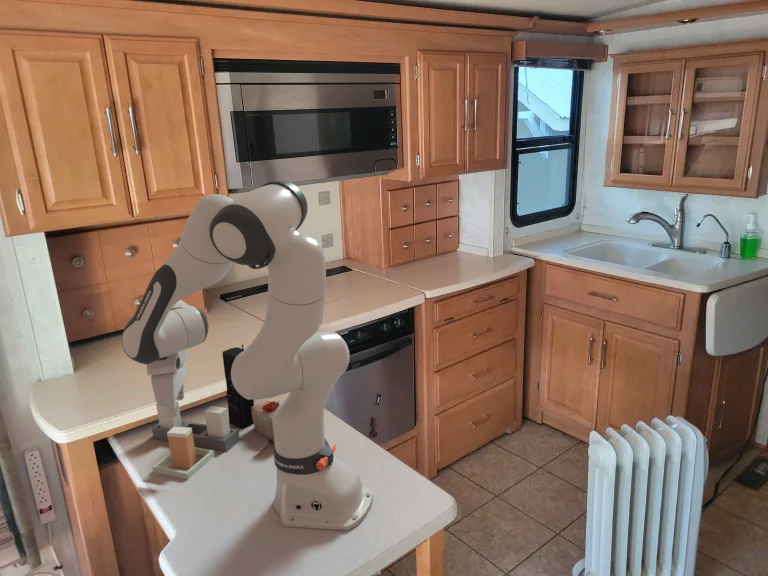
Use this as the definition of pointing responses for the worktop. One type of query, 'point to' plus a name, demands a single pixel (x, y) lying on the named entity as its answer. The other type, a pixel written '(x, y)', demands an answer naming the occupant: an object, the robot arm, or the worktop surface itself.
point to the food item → (264, 418)
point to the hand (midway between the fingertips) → (177, 407)
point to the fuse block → (200, 428)
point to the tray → (179, 473)
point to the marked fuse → (182, 447)
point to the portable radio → (236, 394)
